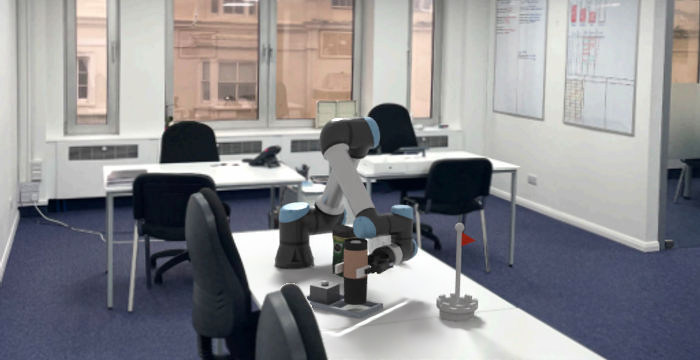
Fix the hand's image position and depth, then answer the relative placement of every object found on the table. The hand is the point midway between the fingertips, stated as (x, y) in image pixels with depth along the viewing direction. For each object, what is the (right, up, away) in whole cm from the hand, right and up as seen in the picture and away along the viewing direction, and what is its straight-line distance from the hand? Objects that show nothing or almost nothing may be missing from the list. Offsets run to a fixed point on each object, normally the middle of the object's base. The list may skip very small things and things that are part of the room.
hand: (346, 271), depth 253 cm
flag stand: (+35, -15, +5) cm, 38 cm away
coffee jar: (-1, -7, +49) cm, 49 cm away
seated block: (-7, -11, +13) cm, 19 cm away
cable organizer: (+15, -3, +74) cm, 76 cm away
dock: (-2, -13, +10) cm, 16 cm away
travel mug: (+3, -10, +6) cm, 12 cm away
